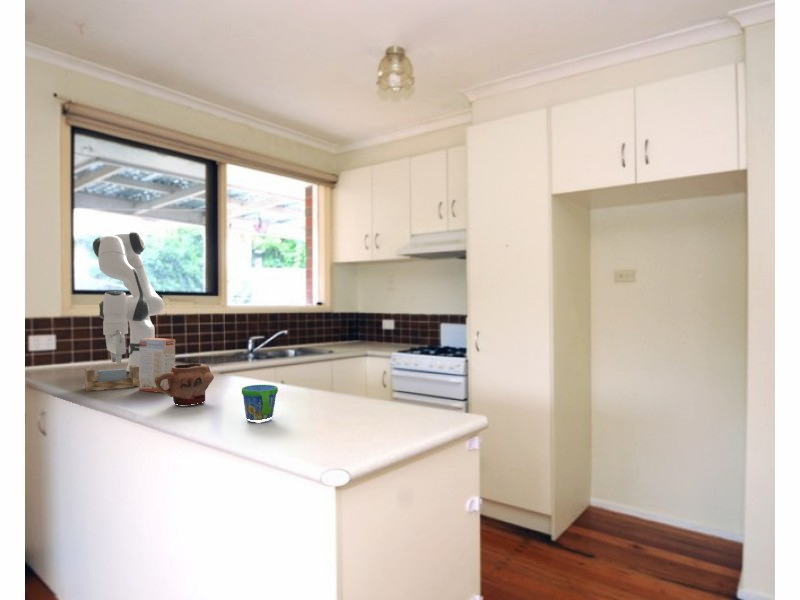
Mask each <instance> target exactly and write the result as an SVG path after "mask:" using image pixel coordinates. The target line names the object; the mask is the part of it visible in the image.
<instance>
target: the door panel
mask: <svg viewBox="0 0 800 600" xmlns="http://www.w3.org/2000/svg"><path fill="white" fill-rule="evenodd" d="M126 378H127V368H117V369H102V370H97V380H98V382H105V381H117V380H126Z"/></svg>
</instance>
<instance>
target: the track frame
mask: <svg viewBox="0 0 800 600" xmlns="http://www.w3.org/2000/svg"><path fill="white" fill-rule="evenodd" d="M134 386H139V366H137V365H130V372H129V377H126V380H117V381H105V382H98V379H97V380H96V379H95V369H94V367H85V369H84V389H85V388H86V389H85V390H86V392H92V391H91V390H96V391H103V390H104V389H107V390H115V389H114V388H118V389H125V388H124V387H129V388H135V387H134Z"/></svg>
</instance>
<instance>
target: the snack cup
mask: <svg viewBox="0 0 800 600" xmlns="http://www.w3.org/2000/svg"><path fill="white" fill-rule="evenodd" d="M278 392H279V388H278V386H276V385H273V384H253V385H252V384H251V385H247V386H243V387H242V388H241V394H242V396H243V397H242V398H243V404H244V412H245V419H246V418H247V419H250V420H262V419H267V418H270V417H272V416H274V410H275V409H274V408H275V405H276V404H275V403H276V398H277V394H278ZM272 418H273V417H272ZM247 419H246V420H247Z"/></svg>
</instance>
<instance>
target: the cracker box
mask: <svg viewBox="0 0 800 600" xmlns="http://www.w3.org/2000/svg"><path fill="white" fill-rule="evenodd" d="M173 366H176V339H174V338H161V337H160V338H159V337H155V338H143V339H140V348H139V387H138V391H142V390H146V392H151V391H157V392H156V393H159V392H161V391H160V390H159V389H158V388H157V386H156V380H157V378H158V377H159V376H160V375H161V374H164V373H169V372H171V369H172V367H173ZM160 386H161V388H162V389H164V390H168V389H169V385H168V379H164V380H162V381H161V384H160Z"/></svg>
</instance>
